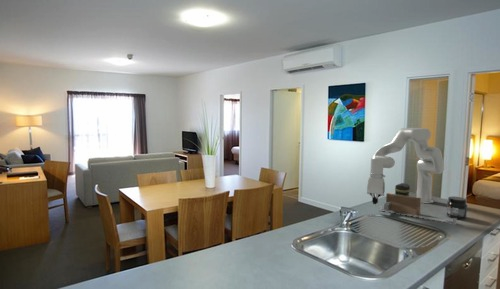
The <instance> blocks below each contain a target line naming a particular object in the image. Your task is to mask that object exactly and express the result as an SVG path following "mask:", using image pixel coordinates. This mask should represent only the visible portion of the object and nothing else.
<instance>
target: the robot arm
mask: <svg viewBox="0 0 500 289" xmlns="http://www.w3.org/2000/svg"><path fill="white" fill-rule="evenodd" d="M431 136H432V132H431V130H430V129H429V128H423V127H422V128H421V127H406V128H405V127H403V128H400V129H398V130H397V132H396V133H395V135H394V136H393V138H392V139H391V140H390V142H389V143H386V144H385V145H383V146H382V147H380V148H379V149H377V150H376V151H375V153H374V155H373V156H372V157H371V159H370V174H369V175H370V176H369V177H368V181H367V187H366V194H367V195H370V196H371V198H372V199H371V202H372V205H377V204H378V203H379V198H380V197H384V196H385V192H386V188H385V186H386V184H385V178H386V175H384V169H391V168H393V167H394V166H395V163H396V161H395V159H394V158H393V157H391V156H387V155H390V154H394V153H398V152H400V151H402V150H403V148H404V146H406V144H407V143H408V142H412V143H413V145H414V149H415V153H416V154H415V155H416V156H417V158H419V159H418V160H417V162H416V169H417V183H416V197H417V198H421V203H420V204H433V203H434V200H433V199H432V193H433V192H432V190H433V176H432V174H434V175H435V174H436V175H441V174H442V173H443V172H444V170H445V164H444V159H443V154H442V151H441V149H440V148H439V147H436V146H430V145H429V143H428V141H429V140H430V138H431Z"/></svg>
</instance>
